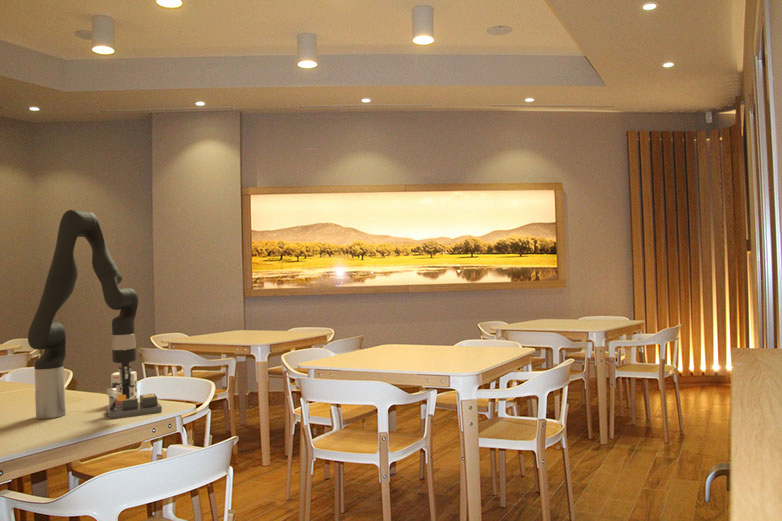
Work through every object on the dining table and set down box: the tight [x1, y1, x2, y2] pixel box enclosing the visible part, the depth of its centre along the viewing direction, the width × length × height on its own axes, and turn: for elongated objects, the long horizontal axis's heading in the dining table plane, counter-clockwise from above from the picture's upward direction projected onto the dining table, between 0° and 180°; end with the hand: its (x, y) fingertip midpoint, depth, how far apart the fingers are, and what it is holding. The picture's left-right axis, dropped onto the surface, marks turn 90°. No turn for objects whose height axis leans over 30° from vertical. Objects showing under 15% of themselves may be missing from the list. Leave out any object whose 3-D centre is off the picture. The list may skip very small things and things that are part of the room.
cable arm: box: [106, 387, 126, 401], centre depth 229 cm, size 18×3×2 cm, turn 34°
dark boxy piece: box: [106, 393, 163, 420], centre depth 238 cm, size 17×14×7 cm
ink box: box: [110, 370, 139, 405], centre depth 256 cm, size 8×5×12 cm, turn 98°
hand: (126, 398), depth 226 cm, fingers closed
